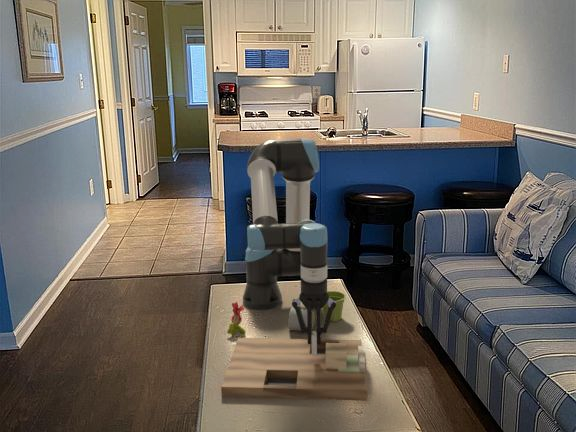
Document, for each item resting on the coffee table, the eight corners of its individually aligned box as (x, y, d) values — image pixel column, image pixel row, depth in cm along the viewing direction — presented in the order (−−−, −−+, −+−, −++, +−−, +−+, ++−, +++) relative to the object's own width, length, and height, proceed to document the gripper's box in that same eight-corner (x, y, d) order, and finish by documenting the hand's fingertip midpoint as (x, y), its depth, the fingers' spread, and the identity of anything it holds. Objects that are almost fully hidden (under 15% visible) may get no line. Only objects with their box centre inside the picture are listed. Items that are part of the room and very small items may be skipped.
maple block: (325, 358, 166) (325, 342, 165) (346, 358, 165) (346, 343, 164) (325, 368, 160) (325, 352, 159) (346, 368, 159) (346, 353, 158)
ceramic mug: (311, 335, 187) (311, 314, 185) (287, 333, 189) (287, 312, 187) (316, 322, 197) (316, 302, 195) (294, 320, 199) (294, 300, 197)
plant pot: (326, 326, 194) (326, 302, 192) (315, 315, 202) (314, 293, 200) (350, 321, 197) (350, 298, 195) (337, 311, 206) (337, 289, 204)
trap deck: (238, 346, 180) (237, 329, 179) (361, 348, 177) (361, 331, 176) (221, 396, 152) (220, 376, 151) (366, 400, 149) (367, 380, 148)
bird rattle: (226, 335, 193) (227, 336, 184) (225, 302, 195) (225, 302, 186) (244, 333, 194) (246, 334, 185) (243, 301, 195) (244, 301, 187)
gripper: (290, 283, 154) (291, 359, 160) (337, 283, 153) (336, 360, 159) (291, 273, 161) (292, 346, 167) (336, 273, 160) (336, 347, 166)
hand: (314, 353), depth 163 cm, fingers closed
